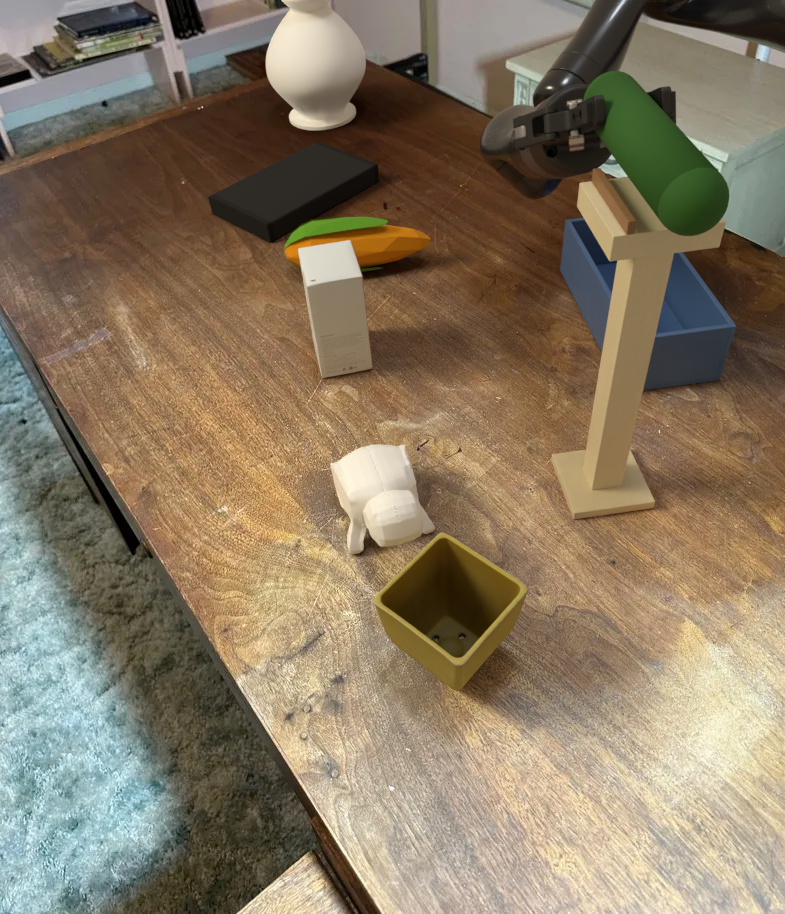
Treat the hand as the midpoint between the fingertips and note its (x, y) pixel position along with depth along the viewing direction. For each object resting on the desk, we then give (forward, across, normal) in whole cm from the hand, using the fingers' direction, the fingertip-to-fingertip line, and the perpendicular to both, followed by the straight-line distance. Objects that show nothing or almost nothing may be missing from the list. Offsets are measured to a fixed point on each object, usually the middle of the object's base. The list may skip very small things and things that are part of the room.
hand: (632, 106), depth 56 cm
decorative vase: (-96, +22, +15) cm, 99 cm away
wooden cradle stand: (-12, 0, -33) cm, 35 cm away
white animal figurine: (-11, +22, -34) cm, 42 cm away
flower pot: (+2, +18, -41) cm, 45 cm away
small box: (-34, +24, -20) cm, 47 cm away
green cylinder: (+1, 0, -5) cm, 5 cm away
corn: (-51, +20, -11) cm, 55 cm away
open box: (-33, -12, -21) cm, 41 cm away
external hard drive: (-70, +28, 0) cm, 75 cm away
